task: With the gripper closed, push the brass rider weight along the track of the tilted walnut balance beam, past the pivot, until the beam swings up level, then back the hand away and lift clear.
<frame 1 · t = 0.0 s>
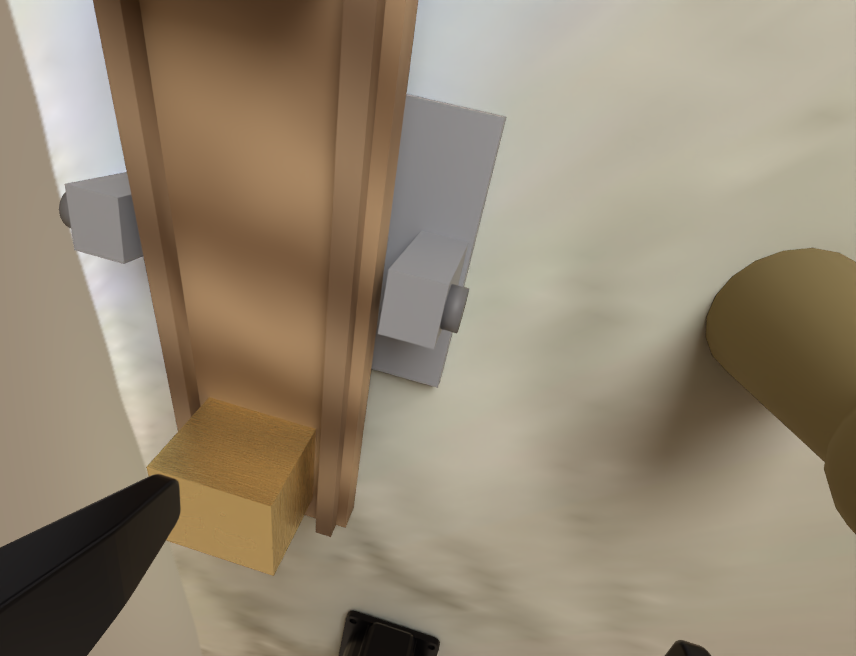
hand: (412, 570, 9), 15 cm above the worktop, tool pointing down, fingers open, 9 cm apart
cork: (786, 319, 20), on the worktop
rider: (263, 450, 23), point 4 cm above the worktop, tilted 8°, touching balance beam
pivot stand: (318, 224, 22), on the worktop
balance beam: (258, 261, 17), point 5 cm above the worktop, hinge at -8.2°, touching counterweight, rider
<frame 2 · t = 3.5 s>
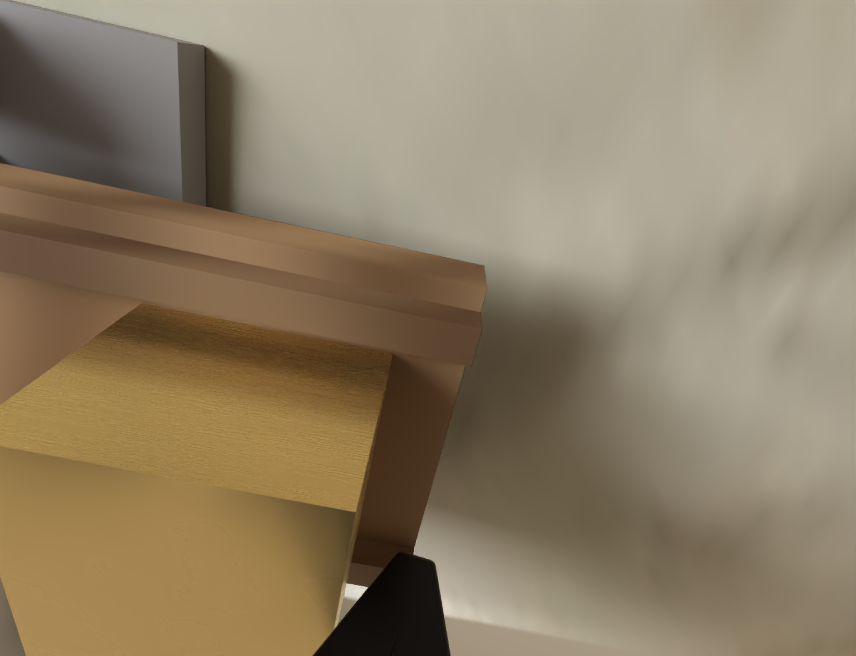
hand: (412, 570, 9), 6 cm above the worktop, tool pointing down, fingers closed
rider: (263, 426, 11), point 4 cm above the worktop, tilted 8°, touching balance beam, gripper
pivot stand: (30, 256, 15), on the worktop
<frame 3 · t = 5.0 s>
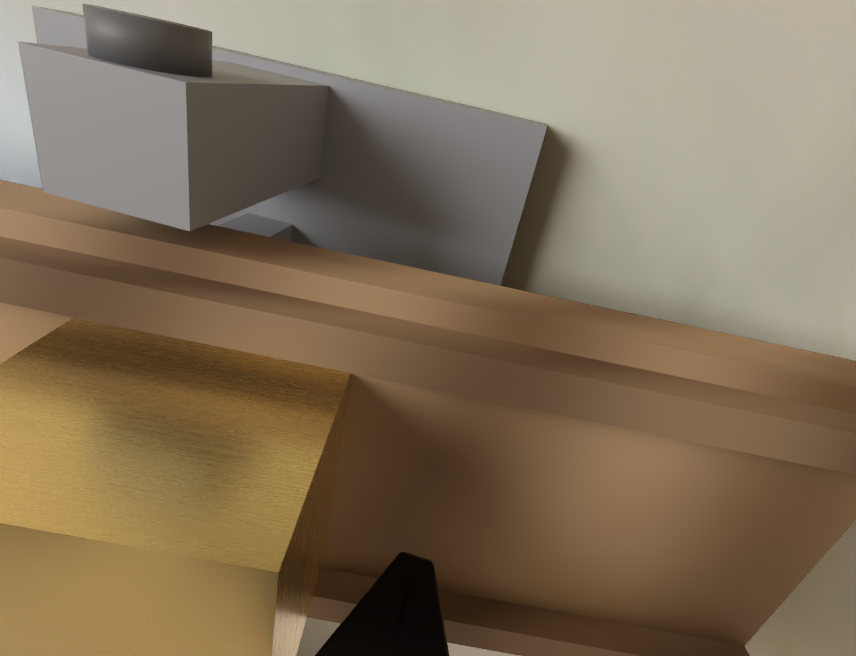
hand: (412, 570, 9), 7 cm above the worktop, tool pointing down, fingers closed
rider: (214, 450, 10), point 5 cm above the worktop, tilted 8°, touching balance beam, gripper
pivot stand: (280, 322, 15), on the worktop
balance beam: (164, 431, 10), point 5 cm above the worktop, hinge at -7.8°, touching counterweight, rider
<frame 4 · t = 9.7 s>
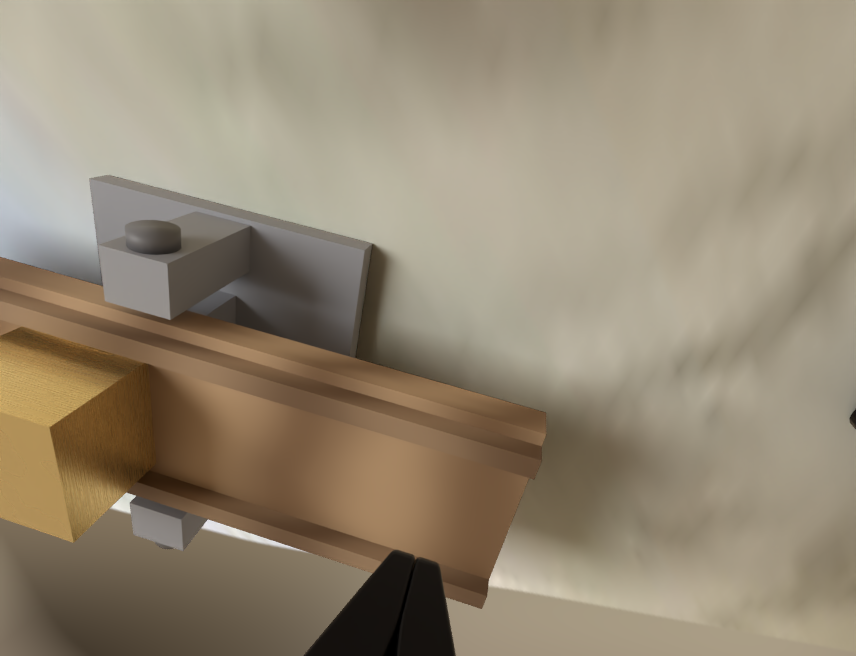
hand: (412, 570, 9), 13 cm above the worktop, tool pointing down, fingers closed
rider: (94, 397, 19), point 6 cm above the worktop, touching balance beam
pivot stand: (234, 349, 24), on the worktop
balance beam: (159, 412, 19), point 5 cm above the worktop, hinge at 0.2°, touching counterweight, rider
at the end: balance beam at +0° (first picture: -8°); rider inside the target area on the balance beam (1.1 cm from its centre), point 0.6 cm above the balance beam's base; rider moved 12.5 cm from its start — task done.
